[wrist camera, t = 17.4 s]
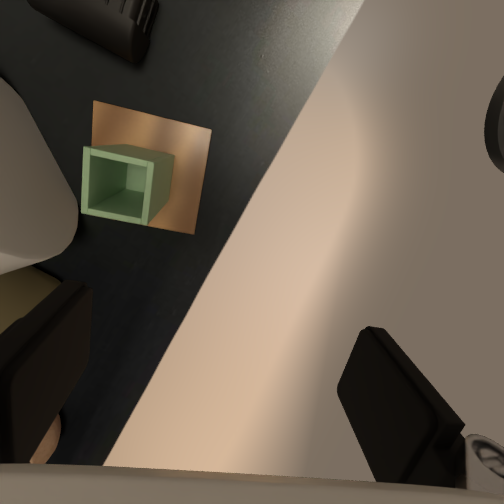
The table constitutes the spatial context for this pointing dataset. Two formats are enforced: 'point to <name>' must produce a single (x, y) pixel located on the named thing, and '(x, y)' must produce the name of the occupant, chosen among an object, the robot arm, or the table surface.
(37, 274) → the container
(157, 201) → the sage tub
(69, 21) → the end cap
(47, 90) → the table surface
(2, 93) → the alarm clock
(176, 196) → the cork mat
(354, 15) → the table surface
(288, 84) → the table surface
